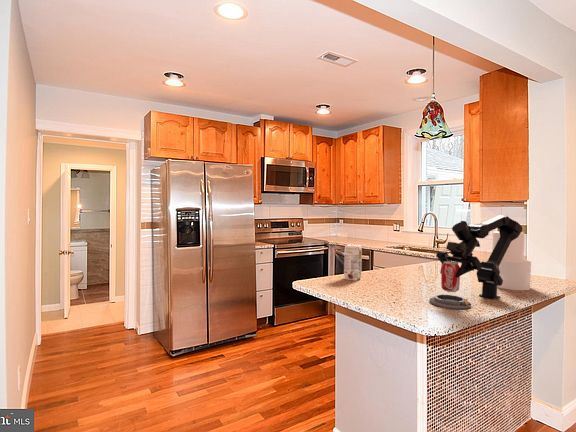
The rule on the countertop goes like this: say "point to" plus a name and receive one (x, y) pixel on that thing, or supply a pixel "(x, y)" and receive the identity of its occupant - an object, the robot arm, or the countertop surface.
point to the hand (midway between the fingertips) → (448, 275)
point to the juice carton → (352, 262)
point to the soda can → (450, 276)
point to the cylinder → (514, 265)
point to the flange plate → (450, 301)
